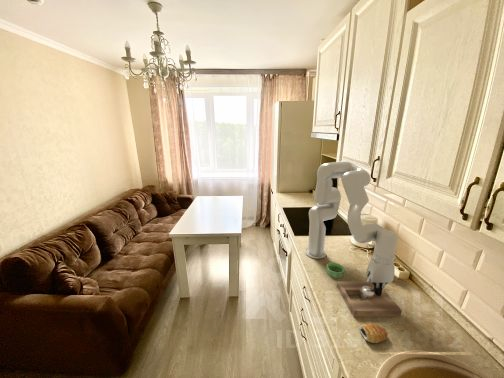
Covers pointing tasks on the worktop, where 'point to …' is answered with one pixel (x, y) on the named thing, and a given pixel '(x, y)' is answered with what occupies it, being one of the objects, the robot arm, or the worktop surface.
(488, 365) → the worktop surface
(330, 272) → the ramekin
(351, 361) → the worktop surface
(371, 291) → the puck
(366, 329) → the pastry
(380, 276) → the robot arm
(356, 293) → the wooden board with recess
